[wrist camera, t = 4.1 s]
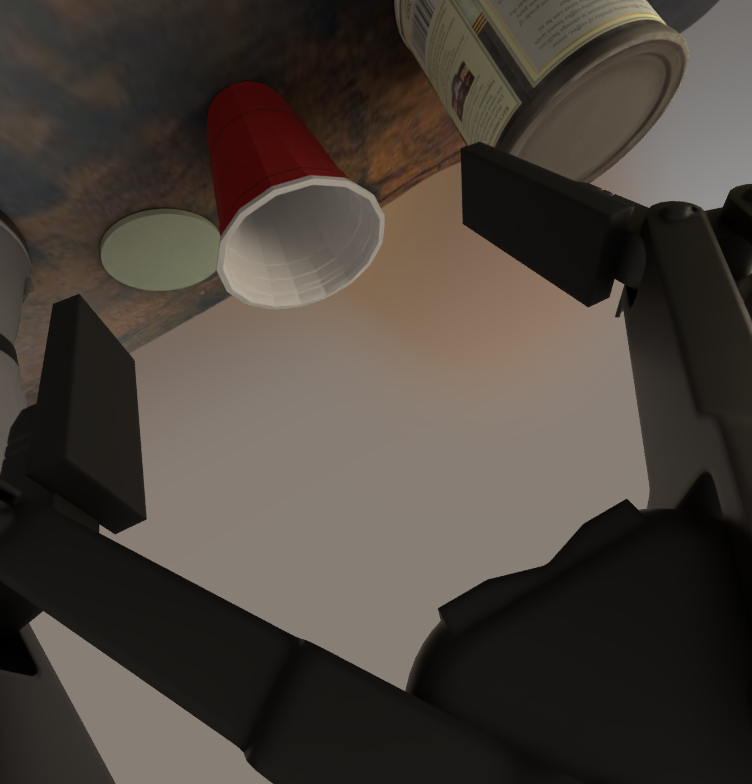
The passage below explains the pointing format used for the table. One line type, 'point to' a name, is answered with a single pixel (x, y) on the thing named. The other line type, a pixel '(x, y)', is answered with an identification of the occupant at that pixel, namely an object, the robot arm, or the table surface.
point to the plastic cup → (283, 204)
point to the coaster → (160, 249)
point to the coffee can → (548, 74)
